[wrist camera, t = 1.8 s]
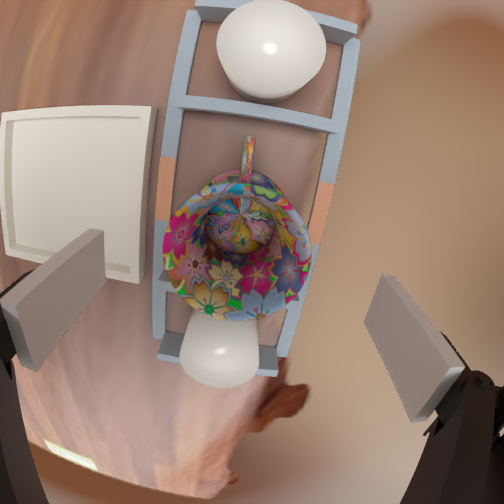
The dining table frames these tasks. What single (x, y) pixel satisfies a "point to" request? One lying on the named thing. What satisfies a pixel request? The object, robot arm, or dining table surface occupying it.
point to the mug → (237, 246)
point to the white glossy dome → (270, 49)
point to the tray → (77, 181)
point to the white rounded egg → (220, 350)
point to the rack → (216, 10)
